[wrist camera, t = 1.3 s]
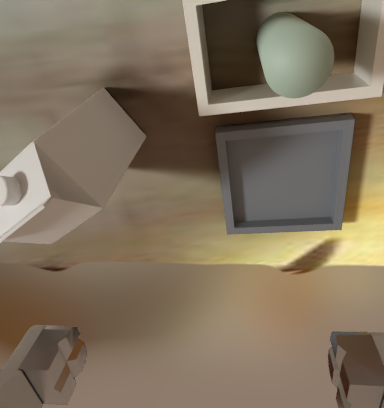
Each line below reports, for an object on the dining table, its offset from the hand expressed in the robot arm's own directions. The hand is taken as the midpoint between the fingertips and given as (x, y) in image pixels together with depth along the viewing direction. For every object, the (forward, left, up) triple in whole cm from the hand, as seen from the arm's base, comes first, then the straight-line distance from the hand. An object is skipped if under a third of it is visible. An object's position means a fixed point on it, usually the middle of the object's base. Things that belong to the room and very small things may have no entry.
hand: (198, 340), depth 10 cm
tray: (+11, +5, -29) cm, 31 cm away
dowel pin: (-4, +5, -29) cm, 30 cm away
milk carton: (+3, -15, -29) cm, 33 cm away
